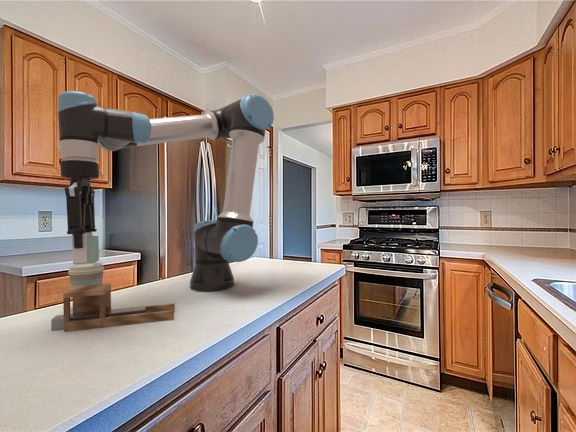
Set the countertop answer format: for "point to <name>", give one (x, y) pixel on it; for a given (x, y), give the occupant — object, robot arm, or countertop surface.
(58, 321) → the bar
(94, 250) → the block
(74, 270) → the coffee cup
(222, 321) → the countertop surface
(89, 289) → the track
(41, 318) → the countertop surface
